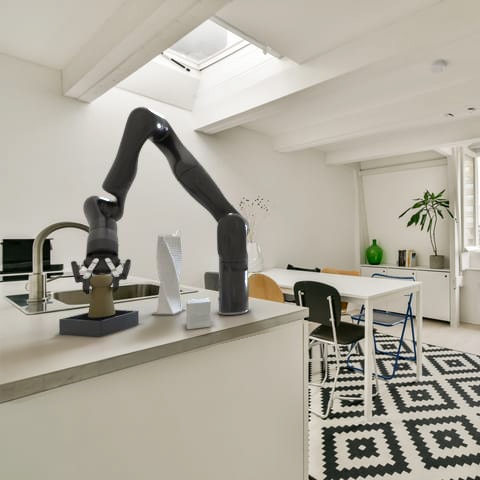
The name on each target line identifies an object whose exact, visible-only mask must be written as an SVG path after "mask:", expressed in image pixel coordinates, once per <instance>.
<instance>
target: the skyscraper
mask: <svg viewBox="0 0 480 480" xmlns="http://www.w3.org/2000/svg"><path fill="white" fill-rule="evenodd" d="M178 232H179V236H177V235H178ZM182 234H183V230H182V229H181V228H178V229H177V230H176V231H175V233H164V234H163V233H159V234H158V235H157V241H156V270H157V275H158V279H159V288H158V296H157V305H156V311H155V312H153V313H151V316H175V315H178V314H180V313H181V312H184V311H185V310H186V309H185V308H182V306H183V305H182V295H181V287H180V280H179V278H180V274H181V269H182V263H183V242H182Z"/></svg>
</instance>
